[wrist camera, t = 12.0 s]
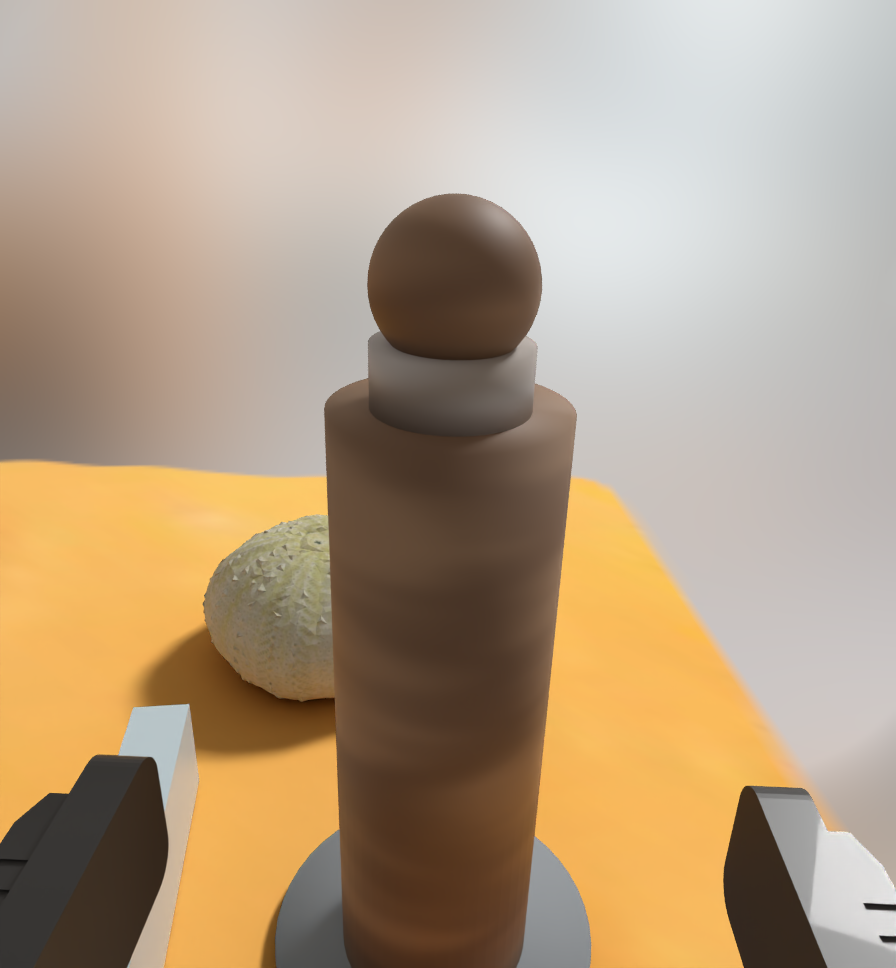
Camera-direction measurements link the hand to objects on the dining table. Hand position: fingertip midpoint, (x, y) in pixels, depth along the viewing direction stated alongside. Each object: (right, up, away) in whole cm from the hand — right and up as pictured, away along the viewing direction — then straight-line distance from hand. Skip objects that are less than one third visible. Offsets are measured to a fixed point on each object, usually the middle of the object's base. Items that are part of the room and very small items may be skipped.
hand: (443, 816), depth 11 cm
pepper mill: (0, -7, +10) cm, 12 cm away
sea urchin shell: (-5, -2, +21) cm, 22 cm away
